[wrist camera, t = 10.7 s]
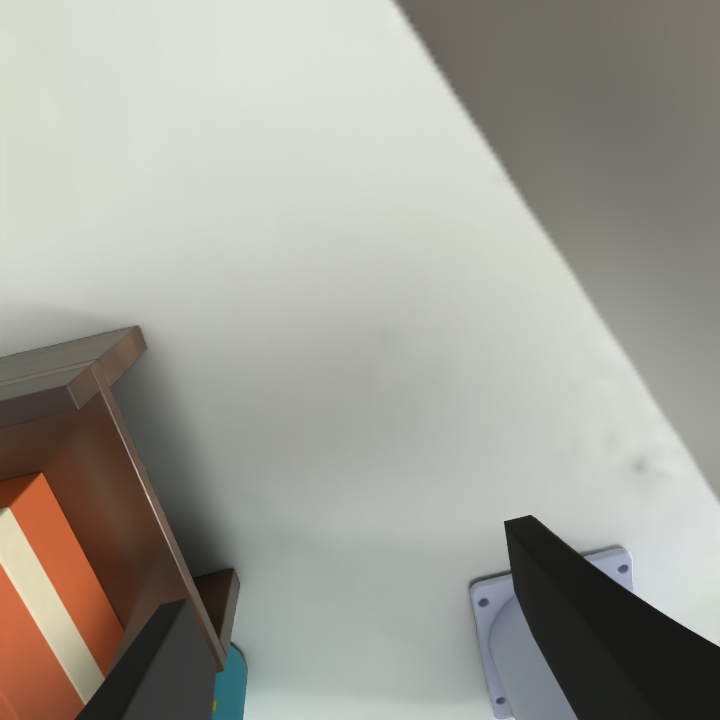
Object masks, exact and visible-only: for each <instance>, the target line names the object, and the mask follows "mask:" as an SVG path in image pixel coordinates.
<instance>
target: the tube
mask: <svg viewBox="0 0 720 720" xmlns="http://www.w3.org/2000/svg"><path fill="white" fill-rule="evenodd" d="M226 658H227V660H226V666H225V670H224V671H223V672H220V673H216V678H215V692H214V702H213V712H212V719H211V720H243V714H244V704H245V694H246V685H247V666H246V663H245V661H244V659H243V657H242V655H241V654H240V653H239V652H238V651H237V650H236V649H235V648H234V647H233V646H231V645H229V649H228V654H227V657H226Z"/></svg>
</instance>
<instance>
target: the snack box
mask: <svg viewBox="0 0 720 720" xmlns="http://www.w3.org/2000/svg"><path fill="white" fill-rule="evenodd" d="M123 635H124V629H123V627H122V625H121V624H120V622H119V620H118V618H117V616H116V614H115V612H114V610H113V608H112V606H111V604H110V602H109V600H108V598H107V597H106V595H105V593H104V591H103V589H102V587H101V585H100V583H99V581H98V579H97V577H96V575H95V573H94V571H93V569H92V568H91V566H90V564H89V562H88V560H87V558H86V556H85V554H84V552H83V550H82V548H81V546H80V544H79V542H78V540H77V539H76V537H75V535H74V533H73V531H72V529H71V527H70V525H69V523H68V521H67V519H66V517H65V515H64V513H63V511H62V510H61V508H60V506H59V504H58V502H57V500H56V498H55V496H54V494H53V492H52V490H51V488H50V486H49V484H48V482H47V481H46V479H45V477H44V475H43V473H42V472H39V473H34V474H30V475H26V476H22V477H18V478H13V479H9V480H5V481H1V482H0V720H74V719H75V718H76V717H77V715H78V714H79V713H80V712H81V710H82V709H83V708H84V707H85V705H86V704H87V703H88V702H89V700H90V699H91V698H92V696H93V695H94V694H95V692H96V691H97V690H98V688H99V687H100V686H101V684H102V683H103V682H104V680H105V678H106V676H107V673H108V671H109V668H110V666H111V664H112V661H113V659H114V656H115V654H116V652H117V649H118V647H119V644H120V642H121V639H122V637H123Z"/></svg>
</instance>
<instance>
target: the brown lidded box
mask: <svg viewBox="0 0 720 720" xmlns="http://www.w3.org/2000/svg"><path fill="white" fill-rule="evenodd" d="M146 350H147V346H146V343H145V341H144V338H143V336H142V333H141V330H140V328H139V326H132V327H128V328H124V329H120V330H115V331H111V332H107V333H103V334H98V335H94V336H90V337H86V338H82V339H77V340H73V341H69V342H65V343H60V344H56V345H52V346H48V347H44V348H39V349H35V350H31V351H27V352H23V353H18V354H14V355H10V356H6V357H1V358H0V482H1V481H5V480H9V479H13V478H18V477H22V476H26V475H30V474H34V473H39V472H42V473H43V475H44V477H45V479H46V481H47V482H48V484H49V486H50V488H51V490H52V492H53V494H54V496H55V498H56V500H57V502H58V504H59V506H60V508H61V510H62V511H63V513H64V515H65V517H66V519H67V521H68V523H69V525H70V527H71V529H72V531H73V533H74V535H75V537H76V539H77V540H78V542H79V544H80V546H81V548H82V550H83V552H84V554H85V556H86V558H87V560H88V562H89V564H90V566H91V568H92V569H93V571H94V573H95V575H96V577H97V579H98V581H99V583H100V585H101V587H102V589H103V591H104V593H105V595H106V597H107V598H108V600H109V602H110V604H111V606H112V608H113V610H114V612H115V614H116V616H117V618H118V620H119V622H120V624H121V625H122V627H123V629H124V635H123V637H122V639H121V642H120V644H119V647H118V649H117V652H116V654H115V656H114V659H113V661H112V664H111V666H110V668H109V671H108V673H107V676H108V675H109V674H110V672H111V671H112V670H113V668H114V667H115V666H116V664H117V663H118V662H119V660H120V659H121V657H122V656H123V655H124V653H125V652H126V651H127V649H128V648H129V646H130V645H131V644H132V642H133V641H134V640H135V638H136V637H137V635H138V634H139V633H140V631H141V630H142V629H143V627H144V626H145V624H146V623H147V622H148V620H149V619H150V618H151V616H152V615H153V614H154V612H155V611H156V610H157V608H158V607H159V606H160V605H161V604H164V603H169V602H173V601H177V600H181V599H185V598H188V601H189V603H190V605H191V607H192V610H193V612H194V614H195V616H196V619H197V621H198V623H199V625H200V628H201V630H202V632H203V634H204V637H205V639H206V641H207V643H208V646H209V648H210V650H211V652H212V655H213V657H214V659H215V661H216V673H220V672H223V671H224V670H225V666H226V660H227V658H226V657H227V654H228V649H229V643H230V638H231V632H232V626H233V621H234V615H235V610H236V604H237V599H238V593H239V587H240V583H239V581H238V578H237V576H236V573H235V570H234V569H231V570H227V571H223V572H219V573H214V574H210V575H206V576H202V577H198V578H194V579H192V577H191V575H190V572H189V570H188V568H187V565H186V563H185V561H184V558H183V556H182V554H181V552H180V549H179V547H178V545H177V542H176V540H175V538H174V535H173V533H172V531H171V528H170V526H169V524H168V521H167V519H166V517H165V515H164V512H163V510H162V508H161V505H160V503H159V501H158V498H157V496H156V494H155V491H154V489H153V487H152V484H151V482H150V480H149V478H148V475H147V473H146V471H145V468H144V466H143V464H142V461H141V459H140V457H139V454H138V452H137V450H136V447H135V445H134V443H133V440H132V438H131V436H130V434H129V431H128V429H127V427H126V424H125V422H124V420H123V417H122V415H121V413H120V410H119V408H118V406H117V403H116V401H115V399H114V397H113V394H112V392H111V390H110V386H112V384H113V383H114V382H115V381H116V380H117V379H118V378H119V377H120V376H121V375H122V374H123V373H124V372H125V371H126V370H127V369H128V368H129V367H130V366H131V365H132V364H133V363H134V362H135V361H136V360H137V359H138V358H139V357H140V356H141V355H142V354H143V353H144V352H145V351H146ZM107 676H106V678H107ZM106 678H105V679H106Z"/></svg>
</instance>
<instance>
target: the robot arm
mask: <svg viewBox="0 0 720 720" xmlns="http://www.w3.org/2000/svg"><path fill="white" fill-rule="evenodd" d="M504 525H505V532H506V539H507V546H508V553H509V559H510V566H511V573H512V574H509V575H505V576H501V577H496V578H492V579H488V580H484V581H480V582H477V583H475V584H474V585H472V587H471V589H470V594H471V599H472V605H473V610H474V616H475V621H476V626H477V632H478V637H479V643H480V648H481V653H482V659H483V664H484V670H485V675H486V680H487V686H488V691H489V697H490V702H491V707H492V711H493V714H494V716H495V717H496V718H498V719H505V718H509V717H513V716H514V718H515V720H720V647H719V646H717V645H715V644H714V643H712V642H710V641H708V640H706V639H705V638H703V637H701V636H700V635H698V634H696V633H695V632H693V631H691V630H689V629H688V628H686V627H684V626H683V625H681V624H679V623H678V622H676V621H674V620H673V619H671V618H670V617H668V616H666V615H665V614H663V613H662V612H660V611H659V610H657V609H656V608H654V607H653V606H651V605H650V604H648V603H647V602H645V601H644V600H642V599H641V598H639V597H638V596H636V595H635V594H633V573H632V556H631V554H630V553H629V552H628V551H627V550H626V549H625V548H616V549H612V550H608V551H604V552H599V553H595V554H591V555H587V556H581V555H580V554H579V553H577V552H576V551H575V550H574V549H572V548H571V547H570V546H569V545H567V544H566V543H565V542H564V541H562V540H561V539H560V538H559V537H558V536H556V535H555V534H554V533H553V532H552V531H550V530H549V529H548V528H547V527H546V526H545V525H543V524H542V523H541V522H540V521H539V520H537V519H536V518H535V517H533V516H532V515H528V516H524V517H520V518H516V519H512V520H508V521H504ZM621 565H622V566H621ZM481 599H484V600H482V601H480V600H481ZM215 678H216V661H215V659H214V657H213V655H212V652H211V650H210V648H209V646H208V643H207V641H206V639H205V637H204V634H203V632H202V630H201V628H200V625H199V623H198V621H197V619H196V616H195V614H194V612H193V610H192V607H191V605H190V603H189V601H188V598H185V599H181V600H177V601H173V602H169V603H164V604H161V605H160V606H159V607H158V608H157V610H156V611H155V612H154V614H153V615H152V616H151V618H150V619H149V620H148V622H147V623H146V624H145V626H144V627H143V629H142V630H141V631H140V633H139V634H138V635H137V637H136V638H135V640H134V641H133V642H132V644H131V645H130V646H129V648H128V649H127V651H126V652H125V653H124V655H123V656H122V657H121V659H120V660H119V662H118V663H117V664H116V666H115V667H114V668H113V670H112V671H111V672H110V674H109V675H108V676H107V678H106V679H105V680H104V682H103V683H102V684H101V686H100V687H99V688H98V690H97V691H96V692H95V694H94V695H93V696H92V698H91V699H90V700H89V702H88V703H87V704H86V705H85V707H84V708H83V709H82V710H81V712H80V713H79V714H78V715H77V717H76V718H75V719H74V720H211V719H212V712H213V702H214V692H215Z"/></svg>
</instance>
